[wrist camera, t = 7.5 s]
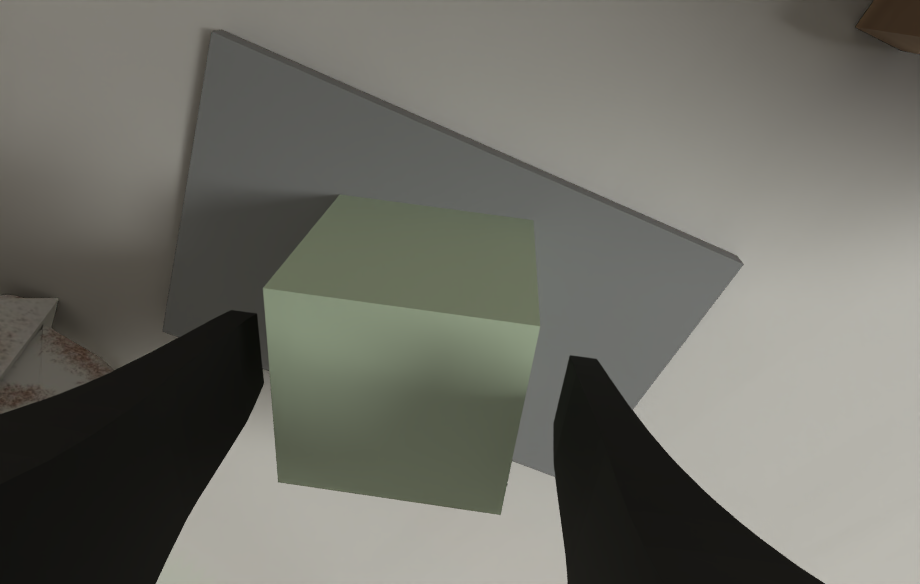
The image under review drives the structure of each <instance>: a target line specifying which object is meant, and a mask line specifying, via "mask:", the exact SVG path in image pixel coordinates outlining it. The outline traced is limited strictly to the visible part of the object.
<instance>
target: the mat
mask: <svg viewBox="0 0 920 584" xmlns="http://www.w3.org/2000/svg"><path fill="white" fill-rule="evenodd" d="M339 195H347V196H355V197H362V198H370V199H378V200H385V201H393V202H400V203H408V204H415V205H423V206H430V207H438V208H445V209H453V210H460V211H468V212H475V213H483V214H490V215H498V216H505V217H513V218H520V219H528V220H533V222H534V237H535V253H536V268H537V284H538V299H539V315H540V330H539V335H538V339H537V344H536V349H535V354H534V358H533V363H532V368H531V373H530V377H529V382H528V387H527V392H526V396H525V401H524V406H523V410H522V415H521V420H520V425H519V429H518V434H517V439H516V444H515V448H514V453H513V458H512V461H513V462H516V463H519V464H522V465H524V466H527V467H530V468H532V469H535V470H538V471H540V472H543V473H546V474H549V475H551V476H554V477H555V471H554V458H553V423H554V419H555V414H556V410H557V406H558V402H559V398H560V394H561V389H562V385H563V381H564V377H565V373H566V369H567V364H568V360H569V356H570V355H572V356H580V357H587V358H595V359H597V360H598V361H599V362H600V364H601V365H602V367H603V368H604V370H605V371H606V373H607V374H608V376H609V377H610V379H611V380H612V382H613V383H614V385H615V386H616V387H617V389H618V390H619V392H620V393H621V395H622V396H623V398H624V399H625V400H626V402H627V403H628V405H629V406H630V407H631V409H632V410H633V409H634V407H635V406H636V405H637V403H638V402H639V401H640V399H641V398H642V397H643V396H644V394H645V393H646V392H647V390H648V389H649V388H650V386H651V385H652V384H653V382H654V381H655V380H656V379H657V377H658V376H659V375H660V373H661V372H662V371H663V369H664V368H665V367H666V365H667V364H668V363H669V362H670V360H671V359H672V358H673V356H674V355H675V354H676V352H677V351H678V350H679V348H680V347H681V346H682V344H683V343H684V342H685V341H686V339H687V338H688V337H689V335H690V334H691V333H692V331H693V330H694V329H695V327H696V326H697V325H698V324H699V322H700V321H701V320H702V318H703V317H704V316H705V314H706V313H707V312H708V310H709V309H710V308H711V307H712V305H713V304H714V303H715V301H716V300H717V299H718V297H719V296H720V295H721V293H722V292H723V291H724V290H725V288H726V287H727V286H728V284H729V283H730V282H731V280H732V279H733V278H734V276H735V275H736V274H737V272H738V271H739V270H740V269H741V267H742V266H743V265H744V264H743V263H742V261H741V260H740V259H739V258H738V256H736V255H734V254H732V253H729V252H727V251H725V250H723V249H720V248H718V247H716V246H714V245H711V244H709V243H707V242H704V241H702V240H700V239H698V238H695V237H693V236H691V235H688V234H686V233H684V232H682V231H679V230H677V229H675V228H672V227H670V226H668V225H666V224H663V223H661V222H659V221H657V220H654V219H652V218H650V217H647V216H645V215H643V214H641V213H638V212H636V211H634V210H631V209H629V208H627V207H625V206H622V205H620V204H618V203H615V202H613V201H611V200H609V199H606V198H604V197H602V196H600V195H597V194H595V193H593V192H590V191H588V190H586V189H584V188H581V187H579V186H577V185H574V184H572V183H570V182H568V181H565V180H563V179H561V178H558V177H556V176H554V175H552V174H549V173H547V172H545V171H543V170H540V169H538V168H536V167H533V166H531V165H529V164H527V163H524V162H522V161H520V160H517V159H515V158H513V157H511V156H508V155H506V154H504V153H501V152H499V151H497V150H495V149H492V148H490V147H488V146H486V145H483V144H481V143H479V142H476V141H474V140H472V139H470V138H467V137H465V136H463V135H460V134H458V133H456V132H454V131H451V130H449V129H447V128H444V127H442V126H440V125H438V124H435V123H433V122H431V121H429V120H426V119H424V118H422V117H419V116H417V115H415V114H413V113H410V112H408V111H406V110H403V109H401V108H399V107H397V106H394V105H392V104H390V103H387V102H385V101H383V100H381V99H378V98H376V97H374V96H372V95H369V94H367V93H365V92H362V91H360V90H358V89H356V88H353V87H351V86H349V85H346V84H344V83H342V82H340V81H337V80H335V79H333V78H330V77H328V76H326V75H324V74H321V73H319V72H317V71H315V70H312V69H310V68H308V67H305V66H303V65H301V64H299V63H296V62H294V61H292V60H289V59H287V58H285V57H283V56H280V55H278V54H276V53H273V52H271V51H269V50H267V49H264V48H262V47H260V46H258V45H255V44H253V43H251V42H248V41H246V40H244V39H242V38H239V37H237V36H235V35H232V34H230V33H228V32H226V31H223V30H218V31H212V32H211V38H210V44H209V51H208V57H207V63H206V69H205V75H204V81H203V87H202V93H201V99H200V106H199V112H198V118H197V124H196V130H195V136H194V142H193V148H192V154H191V161H190V167H189V173H188V179H187V185H186V191H185V197H184V203H183V209H182V216H181V222H180V228H179V234H178V240H177V246H176V252H175V258H174V264H173V271H172V277H171V283H170V289H169V295H168V301H167V307H166V313H165V319H164V326H163V332H166V333H169V334H171V335H174V336H177V337H181V336H183V335H184V334H186V333H188V332H190V331H192V330H194V329H195V328H197V327H199V326H201V325H203V324H205V323H206V322H208V321H210V320H212V319H214V318H216V317H218V316H220V315H222V314H224V313H226V312H228V311H230V310H235V311H243V312H250V313H257V317H258V327H259V338H260V348H261V359H262V368H263V369H266V370H268V371H269V359H268V346H267V333H266V320H265V308H264V295H263V287H264V286H265V285H266V284H267V283H268V281H269V280H270V279H271V278H272V276H273V275H274V274H275V273H276V272H277V270H278V269H279V268H280V267H281V266H282V264H283V263H284V262H285V261H286V259H287V258H288V257H289V256H290V255H291V253H292V252H293V251H294V250H295V248H296V247H297V246H298V245H299V244H300V242H301V241H302V240H303V239H304V237H305V236H306V235H307V234H308V233H309V231H310V230H311V229H312V228H313V226H314V225H315V224H316V223H317V222H318V220H319V219H320V218H321V217H322V216H323V214H324V213H325V212H326V211H327V209H328V208H329V207H330V206H331V205H332V203H333V202H334V201H335V200H336V198H337V197H338V196H339Z"/></svg>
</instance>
